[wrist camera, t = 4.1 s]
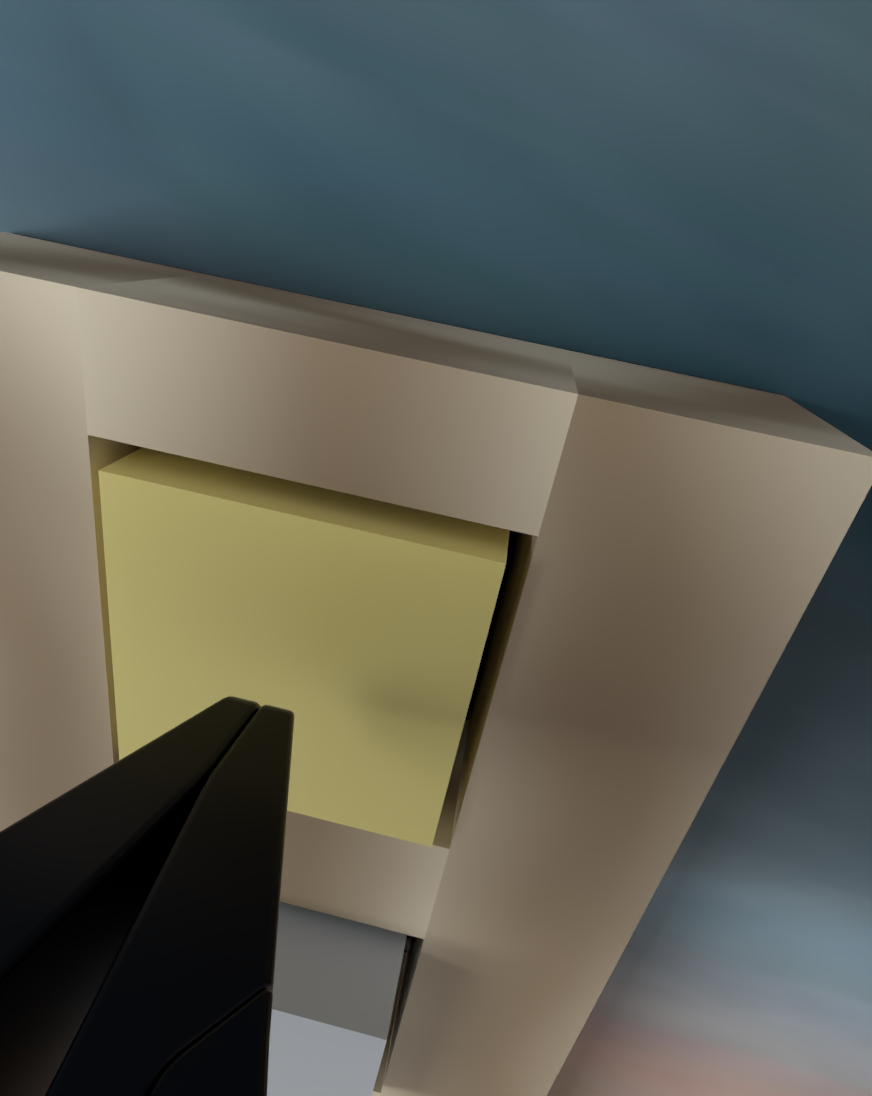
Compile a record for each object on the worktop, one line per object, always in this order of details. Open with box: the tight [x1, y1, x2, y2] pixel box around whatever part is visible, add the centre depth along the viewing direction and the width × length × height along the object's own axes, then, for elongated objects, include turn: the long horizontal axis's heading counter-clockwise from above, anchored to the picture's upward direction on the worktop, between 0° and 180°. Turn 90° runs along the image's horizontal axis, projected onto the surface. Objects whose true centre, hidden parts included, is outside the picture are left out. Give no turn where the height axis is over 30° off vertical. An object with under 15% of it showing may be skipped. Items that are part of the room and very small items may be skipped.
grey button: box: [267, 902, 407, 1096], centre depth 12 cm, size 5×5×3 cm
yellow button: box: [98, 447, 510, 847], centre depth 10 cm, size 5×5×3 cm
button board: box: [0, 232, 872, 1096], centre depth 14 cm, size 12×25×3 cm, turn 170°
